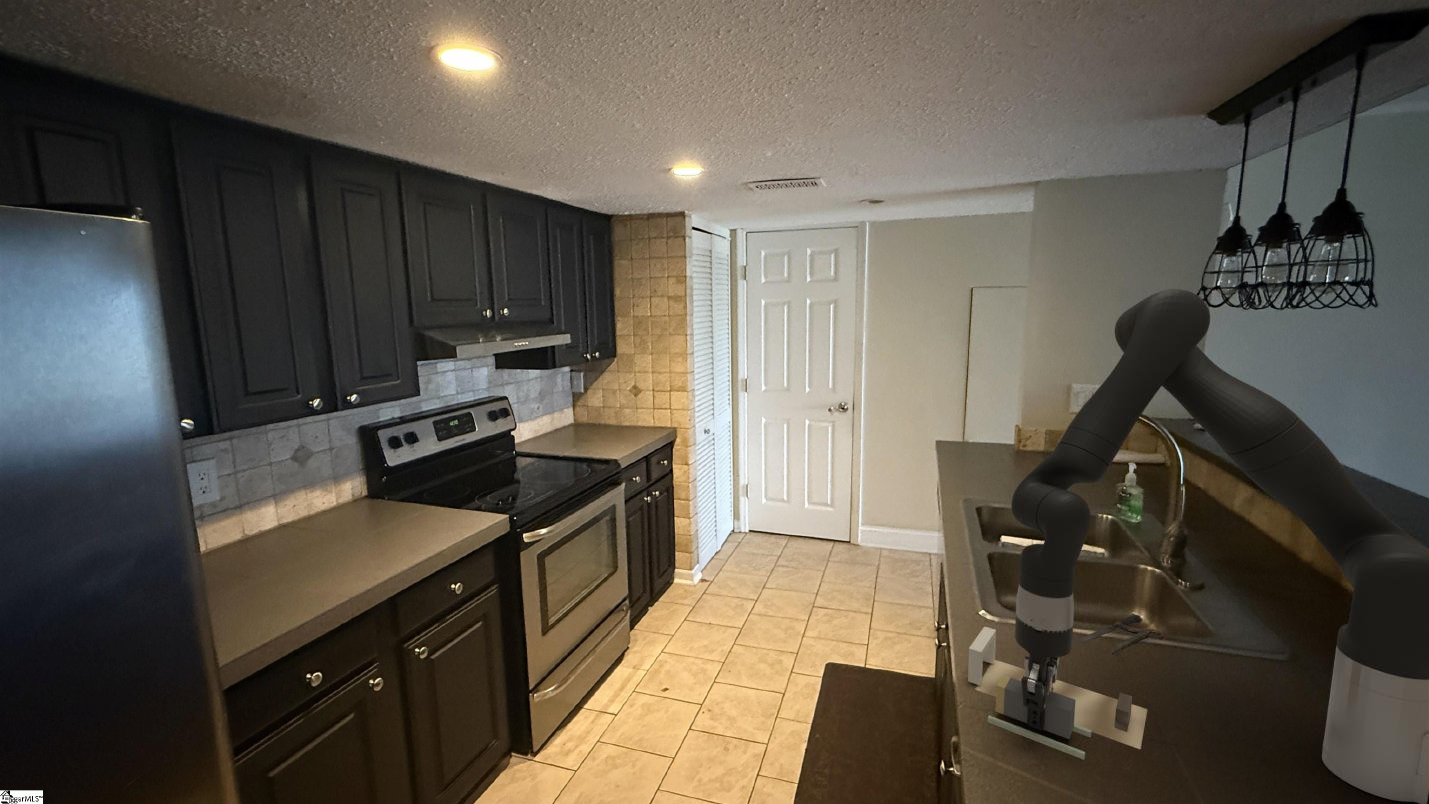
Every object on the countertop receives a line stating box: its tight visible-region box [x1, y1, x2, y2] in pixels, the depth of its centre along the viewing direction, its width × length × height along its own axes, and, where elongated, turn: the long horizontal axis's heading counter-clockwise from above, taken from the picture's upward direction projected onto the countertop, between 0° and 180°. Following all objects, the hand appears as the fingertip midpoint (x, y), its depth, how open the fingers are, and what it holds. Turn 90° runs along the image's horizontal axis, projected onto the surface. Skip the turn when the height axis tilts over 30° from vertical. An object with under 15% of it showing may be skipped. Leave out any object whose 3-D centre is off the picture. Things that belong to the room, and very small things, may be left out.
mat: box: [987, 715, 1092, 760], centre depth 92 cm, size 13×6×1 cm, turn 50°
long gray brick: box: [995, 675, 1075, 740], centre depth 92 cm, size 10×3×4 cm, turn 50°
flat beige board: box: [975, 659, 1148, 750], centre depth 98 cm, size 23×11×4 cm, turn 50°
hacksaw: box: [1074, 613, 1163, 656], centre depth 114 cm, size 24×10×2 cm, turn 115°
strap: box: [967, 626, 997, 686], centre depth 105 cm, size 2×9×6 cm, turn 140°
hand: (1038, 719), depth 92 cm, fingers closed on long gray brick, 3 cm apart
